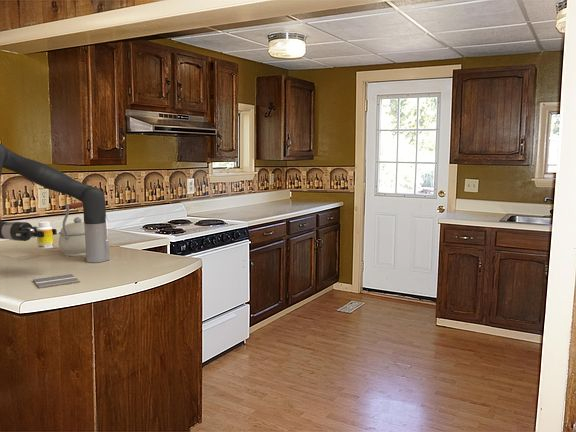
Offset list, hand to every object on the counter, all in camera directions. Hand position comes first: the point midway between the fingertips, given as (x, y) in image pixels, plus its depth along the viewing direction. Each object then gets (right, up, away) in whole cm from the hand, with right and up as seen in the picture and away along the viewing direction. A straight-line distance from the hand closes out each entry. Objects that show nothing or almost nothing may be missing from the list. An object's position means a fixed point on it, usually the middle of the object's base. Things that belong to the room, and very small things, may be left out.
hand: (49, 233), depth 199 cm
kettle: (-9, -12, +53) cm, 55 cm away
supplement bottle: (-2, -6, +2) cm, 7 cm away
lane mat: (+5, -18, -5) cm, 19 cm away
